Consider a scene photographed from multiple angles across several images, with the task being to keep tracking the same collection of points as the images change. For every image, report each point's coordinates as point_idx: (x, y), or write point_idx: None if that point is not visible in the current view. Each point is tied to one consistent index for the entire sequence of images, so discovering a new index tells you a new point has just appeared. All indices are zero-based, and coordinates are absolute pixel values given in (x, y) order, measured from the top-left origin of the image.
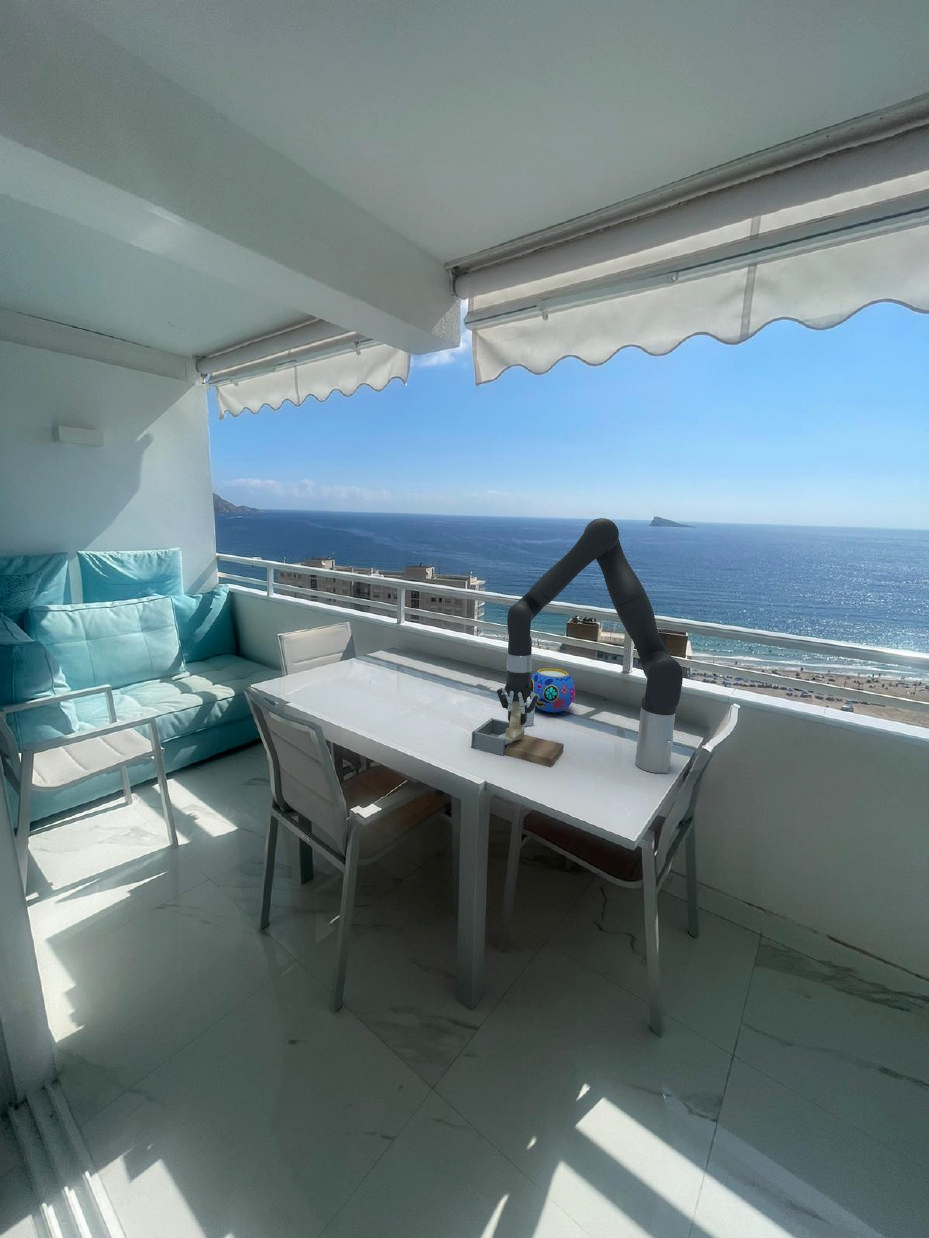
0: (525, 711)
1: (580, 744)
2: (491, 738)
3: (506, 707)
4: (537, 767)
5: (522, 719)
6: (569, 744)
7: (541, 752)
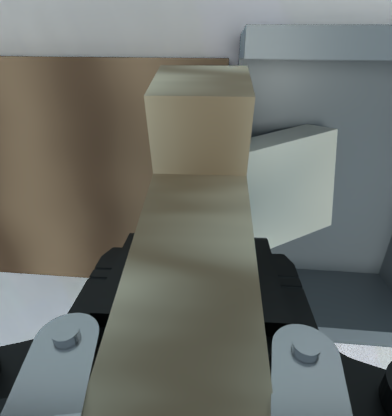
0: (37, 352)
1: (6, 330)
2: (368, 27)
3: (368, 383)
4: (6, 4)
5: (114, 263)
6: (35, 315)
7: (10, 113)
